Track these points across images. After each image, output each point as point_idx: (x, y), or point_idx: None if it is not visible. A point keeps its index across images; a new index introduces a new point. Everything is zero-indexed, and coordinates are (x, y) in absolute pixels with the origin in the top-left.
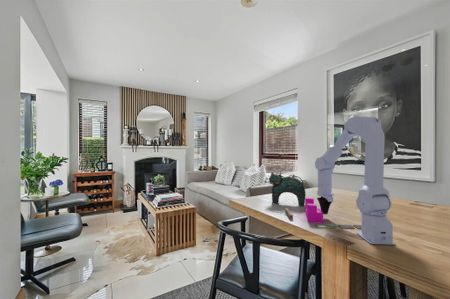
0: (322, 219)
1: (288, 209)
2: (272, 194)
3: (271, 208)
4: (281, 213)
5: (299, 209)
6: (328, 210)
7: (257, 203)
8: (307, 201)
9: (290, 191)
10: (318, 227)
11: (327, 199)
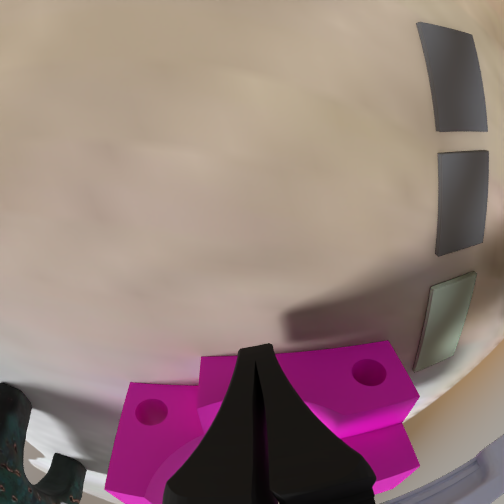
0: (397, 361)
1: None
2: (79, 501)
3: None
4: None
5: (103, 424)
6: (280, 368)
7: None
8: None
9: (36, 493)
10: (451, 352)
11: (419, 495)
